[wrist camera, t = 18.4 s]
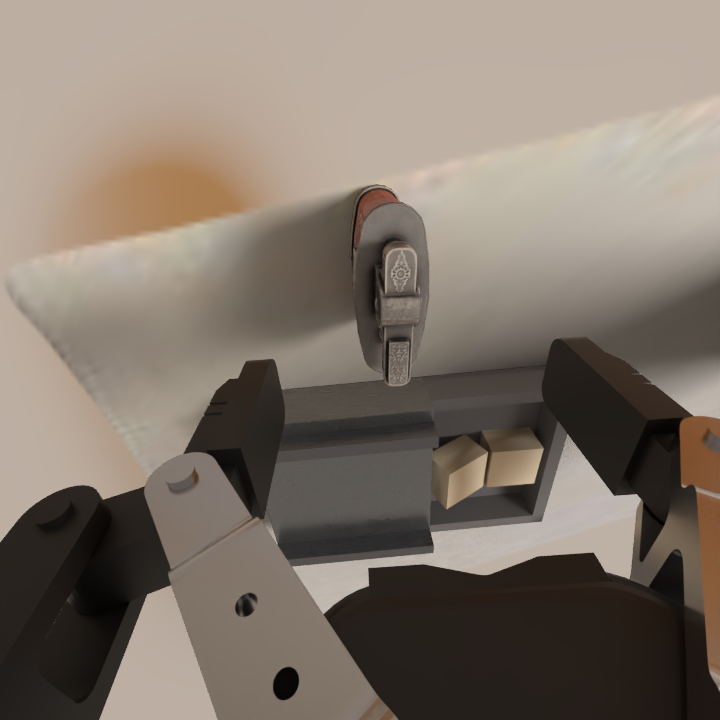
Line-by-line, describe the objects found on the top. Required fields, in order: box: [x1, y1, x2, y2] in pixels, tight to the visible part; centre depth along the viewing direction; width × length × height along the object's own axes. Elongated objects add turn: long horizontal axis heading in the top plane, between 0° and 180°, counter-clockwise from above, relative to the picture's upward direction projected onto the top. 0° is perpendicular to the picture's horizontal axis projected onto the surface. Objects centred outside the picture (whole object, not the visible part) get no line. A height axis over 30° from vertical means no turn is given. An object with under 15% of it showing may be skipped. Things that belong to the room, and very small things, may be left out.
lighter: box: [350, 184, 429, 386], centre depth 19 cm, size 8×3×10 cm, turn 1°
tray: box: [422, 365, 567, 532], centre depth 30 cm, size 10×15×3 cm
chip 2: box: [480, 427, 544, 487], centre depth 30 cm, size 4×4×2 cm
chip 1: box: [431, 434, 488, 509], centre depth 30 cm, size 4×4×2 cm
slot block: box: [266, 377, 439, 566], centre depth 29 cm, size 13×15×6 cm
